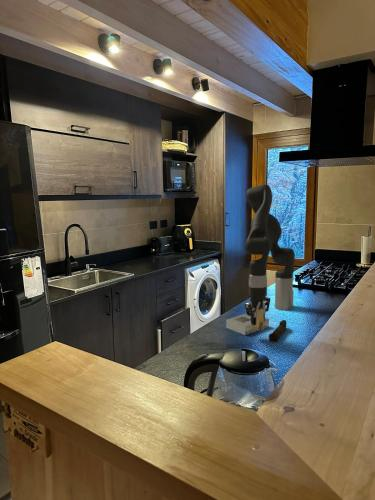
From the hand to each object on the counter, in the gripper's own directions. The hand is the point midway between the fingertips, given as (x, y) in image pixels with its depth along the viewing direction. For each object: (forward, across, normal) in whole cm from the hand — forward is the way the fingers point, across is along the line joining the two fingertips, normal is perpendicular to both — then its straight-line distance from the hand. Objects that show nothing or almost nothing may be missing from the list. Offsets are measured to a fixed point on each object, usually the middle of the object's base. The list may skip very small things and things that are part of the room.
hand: (257, 323), depth 149 cm
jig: (+7, -7, -12) cm, 16 cm away
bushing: (+2, 0, 0) cm, 2 cm away
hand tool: (+8, -11, +2) cm, 13 cm away
